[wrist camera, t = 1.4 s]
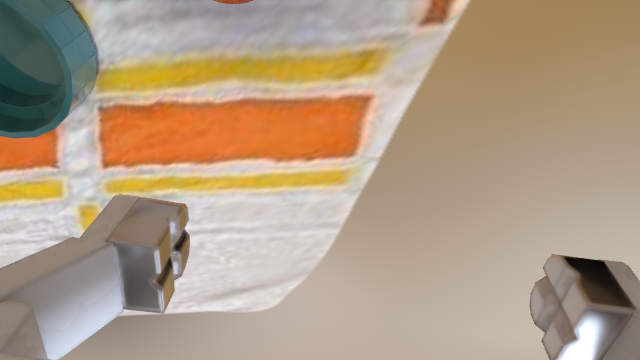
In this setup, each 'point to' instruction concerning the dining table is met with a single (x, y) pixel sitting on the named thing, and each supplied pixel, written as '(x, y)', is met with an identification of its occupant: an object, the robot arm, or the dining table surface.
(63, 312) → the robot arm
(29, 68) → the bowl
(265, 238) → the dining table surface
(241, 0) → the fruit
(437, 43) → the dining table surface
